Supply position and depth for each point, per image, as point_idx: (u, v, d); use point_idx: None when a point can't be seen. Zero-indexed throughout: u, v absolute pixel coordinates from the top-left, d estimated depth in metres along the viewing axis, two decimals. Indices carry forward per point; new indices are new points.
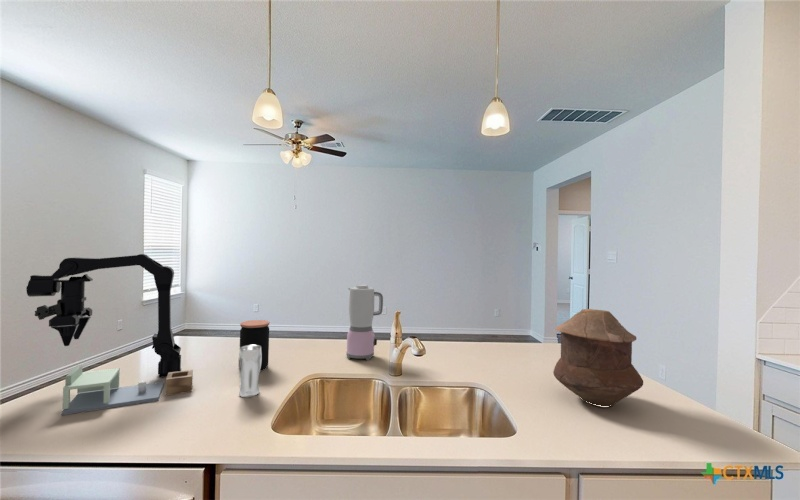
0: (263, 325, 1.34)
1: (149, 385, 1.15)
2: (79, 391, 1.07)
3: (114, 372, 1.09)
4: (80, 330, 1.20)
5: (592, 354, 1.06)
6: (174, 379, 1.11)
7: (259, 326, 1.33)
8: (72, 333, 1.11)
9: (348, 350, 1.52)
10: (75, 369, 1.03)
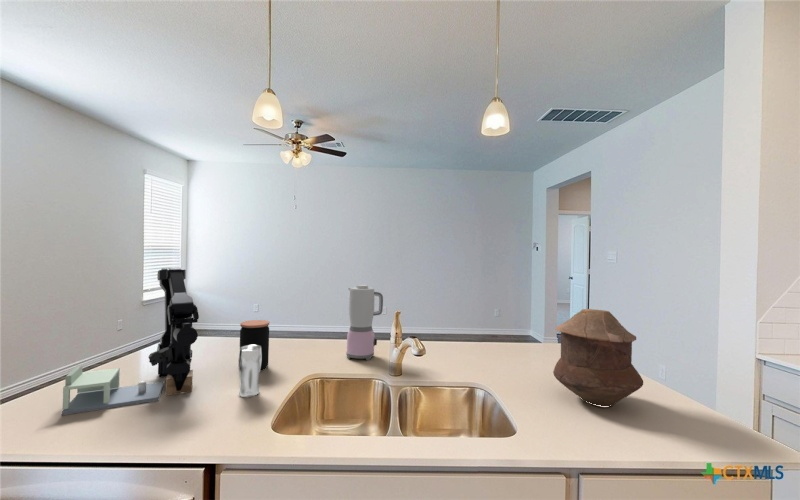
0: (263, 325, 1.34)
1: (149, 385, 1.15)
2: (79, 391, 1.07)
3: (114, 372, 1.09)
4: None
5: (592, 354, 1.06)
6: None
7: (259, 326, 1.33)
8: (185, 378, 1.11)
9: (348, 350, 1.52)
10: (75, 369, 1.03)
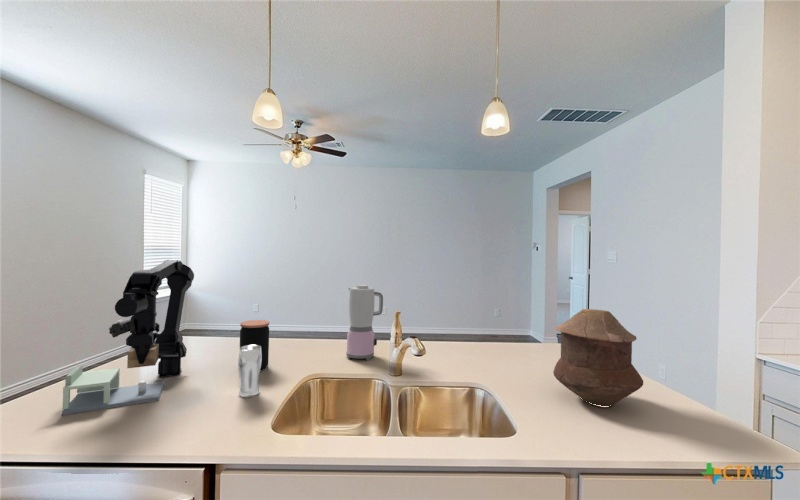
0: (263, 325, 1.34)
1: (149, 385, 1.15)
2: (79, 391, 1.07)
3: (114, 372, 1.09)
4: None
5: (592, 354, 1.06)
6: None
7: (259, 326, 1.33)
8: (147, 350, 1.07)
9: (348, 350, 1.52)
10: (75, 369, 1.03)
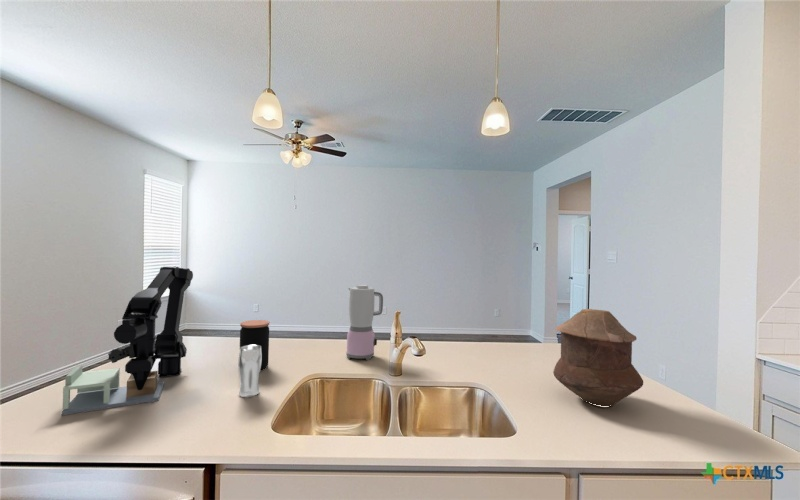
0: (263, 325, 1.34)
1: None
2: (79, 391, 1.07)
3: (114, 372, 1.09)
4: None
5: (592, 354, 1.06)
6: None
7: (259, 326, 1.33)
8: (146, 377, 1.06)
9: (348, 350, 1.52)
10: (75, 369, 1.03)
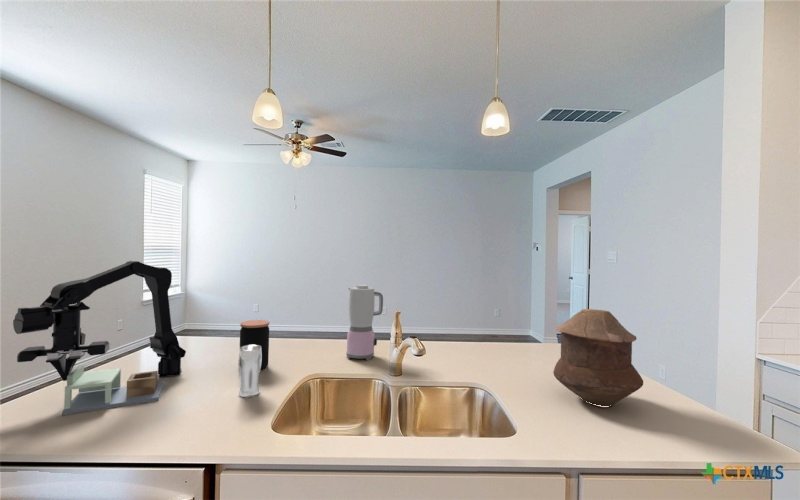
0: (263, 325, 1.34)
1: None
2: (80, 391, 1.07)
3: (115, 372, 1.09)
4: (65, 371, 1.01)
5: (592, 354, 1.06)
6: (135, 381, 1.07)
7: (259, 326, 1.33)
8: None
9: (348, 350, 1.52)
10: (77, 369, 1.03)
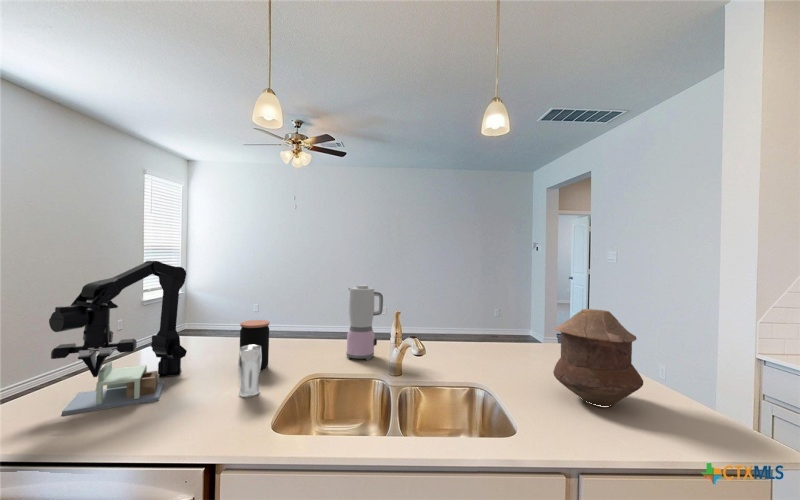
0: (263, 325, 1.34)
1: None
2: (109, 387, 1.11)
3: (142, 369, 1.12)
4: None
5: (592, 354, 1.06)
6: None
7: (259, 326, 1.33)
8: None
9: (348, 350, 1.52)
10: (106, 366, 1.07)
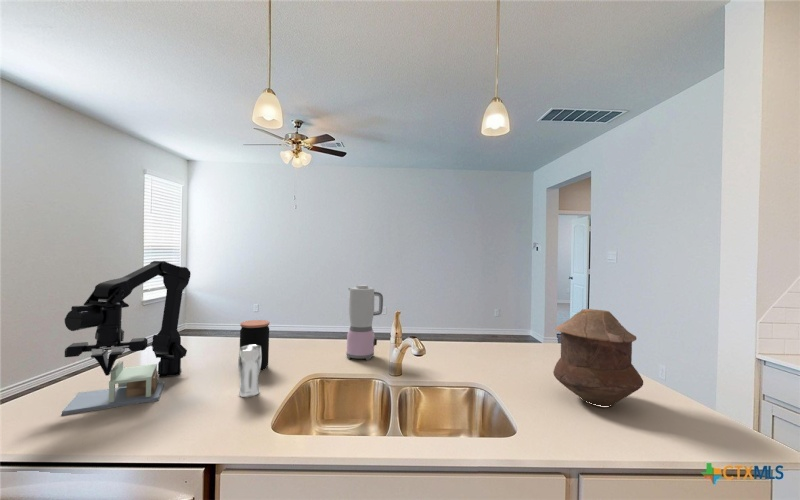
0: (263, 325, 1.34)
1: None
2: (120, 386, 1.12)
3: (153, 368, 1.13)
4: (108, 366, 1.05)
5: (592, 354, 1.06)
6: (135, 381, 1.07)
7: (259, 326, 1.33)
8: None
9: (348, 350, 1.52)
10: (117, 365, 1.08)
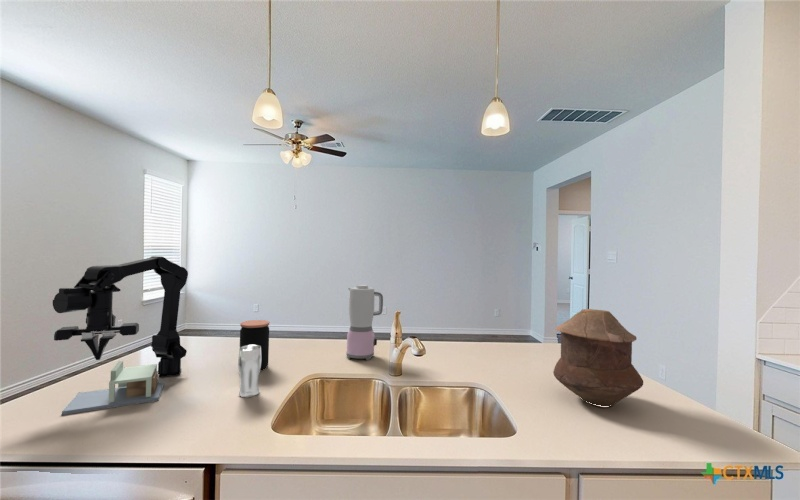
0: (263, 325, 1.34)
1: None
2: (120, 386, 1.12)
3: (153, 368, 1.13)
4: None
5: (592, 354, 1.06)
6: (135, 381, 1.07)
7: (259, 326, 1.33)
8: None
9: (348, 350, 1.52)
10: (117, 365, 1.08)
